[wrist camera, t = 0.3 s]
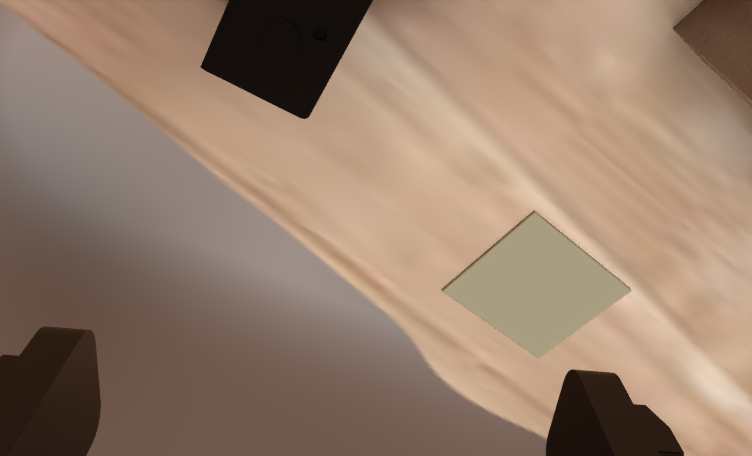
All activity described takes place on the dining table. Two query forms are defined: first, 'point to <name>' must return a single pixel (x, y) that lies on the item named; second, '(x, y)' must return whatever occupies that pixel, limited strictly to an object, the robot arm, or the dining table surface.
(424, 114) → the dining table surface
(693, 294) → the dining table surface
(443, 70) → the dining table surface
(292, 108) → the digital camera
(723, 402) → the dining table surface
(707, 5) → the housing
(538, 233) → the pad
